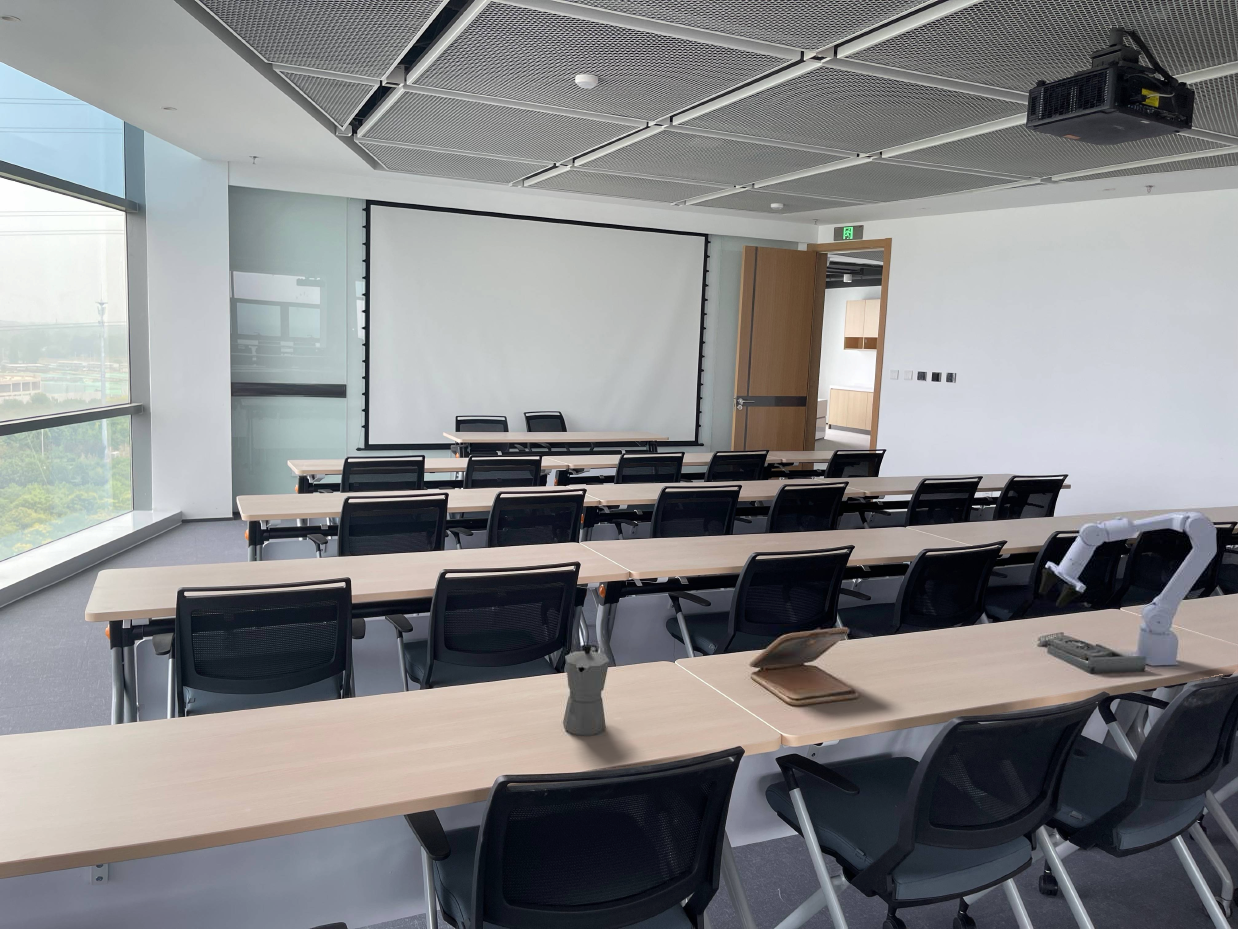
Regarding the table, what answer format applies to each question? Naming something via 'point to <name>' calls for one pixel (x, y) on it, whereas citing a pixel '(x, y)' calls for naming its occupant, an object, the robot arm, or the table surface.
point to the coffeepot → (585, 691)
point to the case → (801, 668)
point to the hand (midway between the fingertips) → (1050, 600)
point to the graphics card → (1074, 646)
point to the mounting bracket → (1103, 662)
